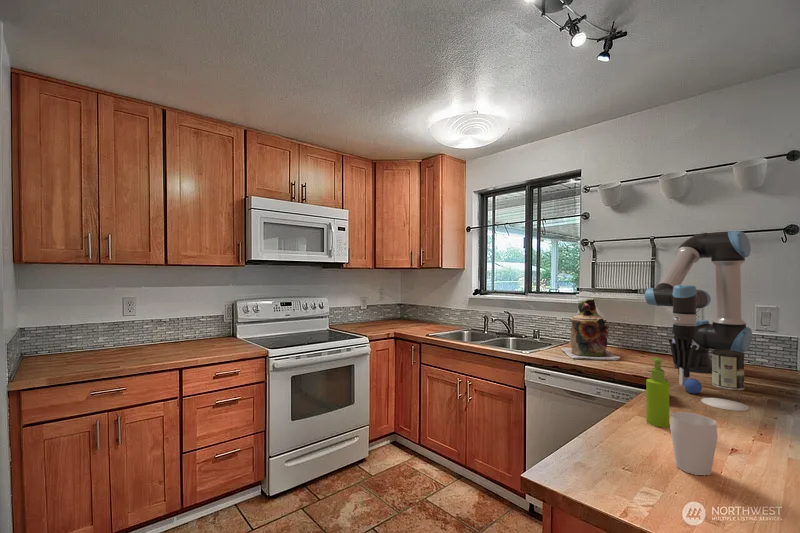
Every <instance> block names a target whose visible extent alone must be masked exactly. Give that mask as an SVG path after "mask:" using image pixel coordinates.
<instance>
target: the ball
mask: <svg viewBox="0 0 800 533" xmlns="http://www.w3.org/2000/svg"><path fill="white" fill-rule="evenodd" d="M683 386H684V389H685V390H686V391H687V393H689V394H694V395H696V394H699V393H700V392H702V389H703V387H702V383H701V382H700V381H699V380H697V379H696V378H689V379H688V380H686V381H685V383H684V385H683Z"/></svg>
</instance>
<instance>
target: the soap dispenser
mask: <svg viewBox="0 0 800 533" xmlns="http://www.w3.org/2000/svg"><path fill="white" fill-rule="evenodd" d="M650 359H651V360H653V361H654V362H653V365H654V366H653V367H652V368H651V369H650V378H647V379H646V380H645V381H646V383H645V384H646V396H645V397H646V398H645V399H646V403H645V404H646V408H645V410H646V423H647V424H648V423H649V424H648V425H650V424H651V425H650V426H652V425H654V426H653V427H656V426H658V427H657V428H662V427H666V428H670V382H669V381H668V382H667V381H665V380H664V377H665V369H663V368H662V363H663V359H662V358H660V357H656V356H655V357H653V356H651V357H650Z"/></svg>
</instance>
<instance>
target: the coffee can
mask: <svg viewBox="0 0 800 533" xmlns="http://www.w3.org/2000/svg"><path fill="white" fill-rule="evenodd" d="M711 361H712V372H711V374H712V376H711V378H712V379H711V380H712V381H711V384H712V386H713V387H716V388H719V389H722V390H723V389H724V390H731V391H744V390H745V352H744V353H742V352H737V351H730V350H713V349H711Z"/></svg>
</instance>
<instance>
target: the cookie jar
mask: <svg viewBox="0 0 800 533" xmlns="http://www.w3.org/2000/svg"><path fill="white" fill-rule="evenodd" d="M595 299H596V298H595V297H593V298H592V299H591V298H590V299H585V300H582V301H580V302H579V303H578V310H579V313H578V314H576V315H575V316H571V317H570V318H569V320H570V322H571V329H570V338H569V341H570V346H571V347H567V348H566V347H561V348H560V349H561V351H562V352H564V354H566V355H567V356H568V357H569V358H571V359H572V360H573V359H588V360H589V359H590V360H599V361H601V360H604V361H605V360H606V361H609V360H610V361H618V360H620V358H621V356H619V355H615V354H613V353H612V352H611V351H609V350H608V349H607V347H608V338H609V332H610V327H609V325H608V324H606V323H607V319H606V318H604V317H602V316H601V315H600V314H599V313H598V312H597V306H596V303H595V302H596V301H595ZM605 324H606V325H605Z"/></svg>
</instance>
